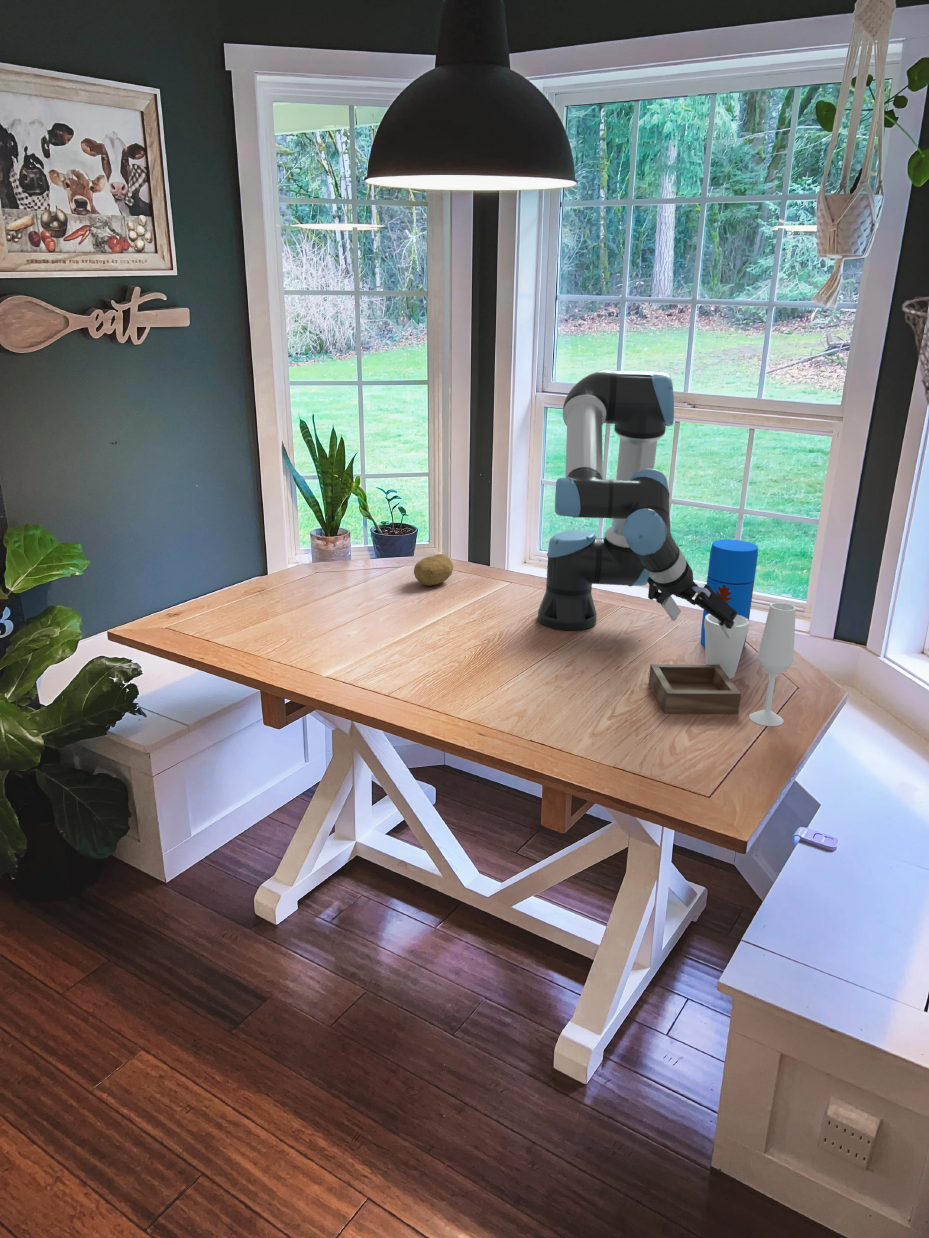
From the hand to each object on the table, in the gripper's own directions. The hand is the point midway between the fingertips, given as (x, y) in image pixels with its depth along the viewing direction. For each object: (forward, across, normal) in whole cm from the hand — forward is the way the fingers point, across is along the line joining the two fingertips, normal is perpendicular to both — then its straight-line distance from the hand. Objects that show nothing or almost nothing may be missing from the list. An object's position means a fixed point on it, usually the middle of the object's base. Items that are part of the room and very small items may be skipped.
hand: (703, 624), depth 190 cm
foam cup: (+17, 0, -3) cm, 18 cm away
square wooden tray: (+6, +3, -14) cm, 16 cm away
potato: (+12, -91, -8) cm, 92 cm away
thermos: (+29, -10, +8) cm, 32 cm away
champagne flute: (+8, +18, -12) cm, 24 cm away
